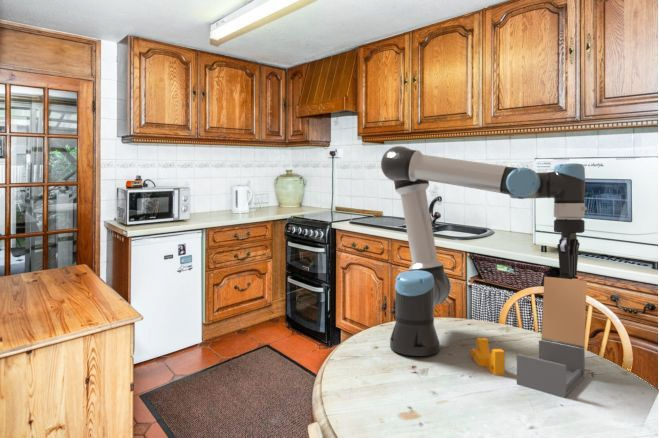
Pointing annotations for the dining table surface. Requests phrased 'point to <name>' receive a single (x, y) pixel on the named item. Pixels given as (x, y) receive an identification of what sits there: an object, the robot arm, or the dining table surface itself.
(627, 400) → the dining table surface
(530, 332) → the dining table surface
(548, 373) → the housing
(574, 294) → the tan rectangular panel
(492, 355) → the pipe clamp
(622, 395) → the dining table surface
